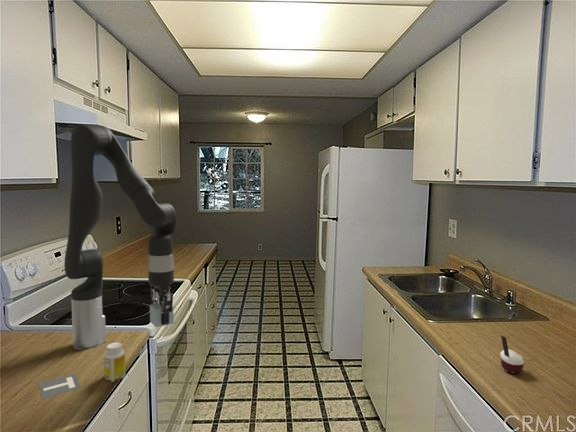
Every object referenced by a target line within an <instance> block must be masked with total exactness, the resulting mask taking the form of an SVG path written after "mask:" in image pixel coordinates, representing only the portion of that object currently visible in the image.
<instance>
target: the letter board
mask: <svg viewBox="0 0 576 432" xmlns="http://www.w3.org/2000/svg"><path fill="white" fill-rule="evenodd" d="M38 384H39V391H40V395H41V399H43V400H44V399H46V398H50V397H53V396H54V397H55V396H57V395H61V394H64V393H68V392H71V391H72V392H73V391H75V390H78V389H81V388H82V387H81V384H80V381H79V379H78V376H77V374H76V373H72V374H68V375H65V376H62V377H57V378H54V379H49V380H46V381H42V382H39V383H38Z"/></svg>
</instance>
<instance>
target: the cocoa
mask: <svg viewBox="0 0 576 432" xmlns="http://www.w3.org/2000/svg"><path fill="white" fill-rule="evenodd" d="M501 342H502V347H503V350H501V351H500V362H501V368H502V367H503V368H504V369H505V370H507V371H509V372H513V373H518V374H519V373H522V372H523V368H524V363H525V360H524V357H523V355H521V354H519V353H517V352H516V351H514V350H512V349H509V347H508V342H507V338H506V336H503V335H501ZM503 368H502V369H503ZM504 369H503V370H504ZM505 370H504V371H505Z"/></svg>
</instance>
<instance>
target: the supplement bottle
mask: <svg viewBox="0 0 576 432" xmlns="http://www.w3.org/2000/svg"><path fill="white" fill-rule="evenodd" d="M122 346H123V345H122V343H121V342H112V343H109V344H108V345H106V350H105V352H104V354H103V367H104V368H103V370H104V371H103V373H104V374H103V375H104V380H105V381H107V382H117V381H120V380H123V379H124V378H125V377H126V375H127V374H126V373H127V372H126V351H125V349H124V348H123V347H122Z"/></svg>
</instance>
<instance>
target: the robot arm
mask: <svg viewBox="0 0 576 432" xmlns="http://www.w3.org/2000/svg"><path fill="white" fill-rule="evenodd" d="M70 154H71V190H70V191H71V193H70V201H69V203H70V204H69V222H68V223H69V225H68V237H67V243H66V250H65V255H64V264H63V265H64V273H65V276H66V278H68V279H69V280H81V279H85V278H86V279H85V281H83V282H82V283H81V284H79V285H77V286H75V287H74V288H73V289H72V290H71V293H70V295H71V296H70V298H71V321H72V324H71V325H72V345H73V346H72V347H73V349H74V350H76V351H83V350H87V349H92V348H97V347H101V346H102V345H103V344H104V343H105V342H107V340H106V339H107V338H106V337H107V335H106V334H107V333H106V315H104V314H103V287H104V284H103V283H104V282H103V279H104V277H103V276H104V275H103V274H104V258H103V256H102V252H101V251H100V250H99V249H97V248H91V249H85V250H82V249H83V245H84V243H85V240H86V239H87V237H88V236H89V234H91V232H92V230H94V228H95V227H96V225H97V224H98V223H99V221H100V220H101V217H102V215H103V205H104V195H103V191H102V189H101V187H100V185H99V183H98V181H97V179H96V177H95V174H94V173H95V172H94V161H95V156H103V157H104V158H105V159H106V160H107V161H108V162H109V163H110V164H111V165H112V167H113V169H114V171H115V176H116V180H117V184H118V186H119V187H120V188H121V189H122V191H123V193H125V195H126V196H127V197H128V198H129V199H130V201H131V202H133V204H134V207H135V208H136V210H137V212H138V214H139V216H140V218H141V219H142V221H143V222H144V223H145V224H146V225H147V226H149V227H151V228H153V229H154V232H153V234H152V235H151V236H150V237H149V238H148V260H147V271H148V272H147V275H148V280H147V281H148V284H149V285H150V293H151V297H150V298H151V304H157V303H158V305H159V306H160V308H161V324H162V325H164V326H167V325H166V324H169V312H172V306H173V305H174V304H173V301H174V294H173V293H171V290H170V289H169V288H170V287H169V286H170V285H172V284H174V282H175V260H174V254H173V253H174V249H173V248H174V246H173V241H174V240H173V239H174V235H175V233H176V232H175V230H176V225H177V220H178V217H177V212H176V209H175V208H174V206H173V205H172V204H170V203H167V202H166V203H158V202H157V201H156V199H155V195H156V194H155V193H156V192H155V190H154V188H153V187H152V186H151V185H150V184H149V183H148V182H147V181H146V179H145V178H144V177H143V175H141V173H140V172H139V171H138V170H137V169H136V168H135V166H134V165H133V163H132V162H131V160H130V158H129V157H128V155H127V153H126V151H124V149H123V147H122V146H121V144H120V142H119V141H118V140H117V138H116V136H115V135H114V133H113V132H112V131H111V129H109V128H108V127H107V126H105V125H100V124H77V125H76V126H75V127H74V128H73V130H72V132H71V136H70ZM166 306H167V309H166ZM169 325H170V324H169Z"/></svg>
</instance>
